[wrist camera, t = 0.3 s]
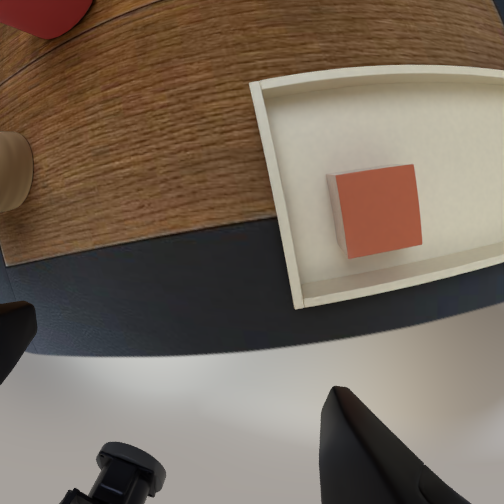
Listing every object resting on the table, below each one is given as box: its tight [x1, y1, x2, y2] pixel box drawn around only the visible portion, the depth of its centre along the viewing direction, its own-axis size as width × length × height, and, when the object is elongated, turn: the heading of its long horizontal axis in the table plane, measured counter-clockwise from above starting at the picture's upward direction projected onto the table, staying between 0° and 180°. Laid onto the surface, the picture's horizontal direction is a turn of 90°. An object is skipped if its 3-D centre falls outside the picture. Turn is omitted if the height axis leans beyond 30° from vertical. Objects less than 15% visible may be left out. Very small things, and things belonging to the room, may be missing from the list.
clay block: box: [326, 164, 422, 259], centre depth 17 cm, size 4×4×4 cm
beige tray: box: [249, 65, 504, 309], centre depth 17 cm, size 22×13×3 cm, turn 102°
